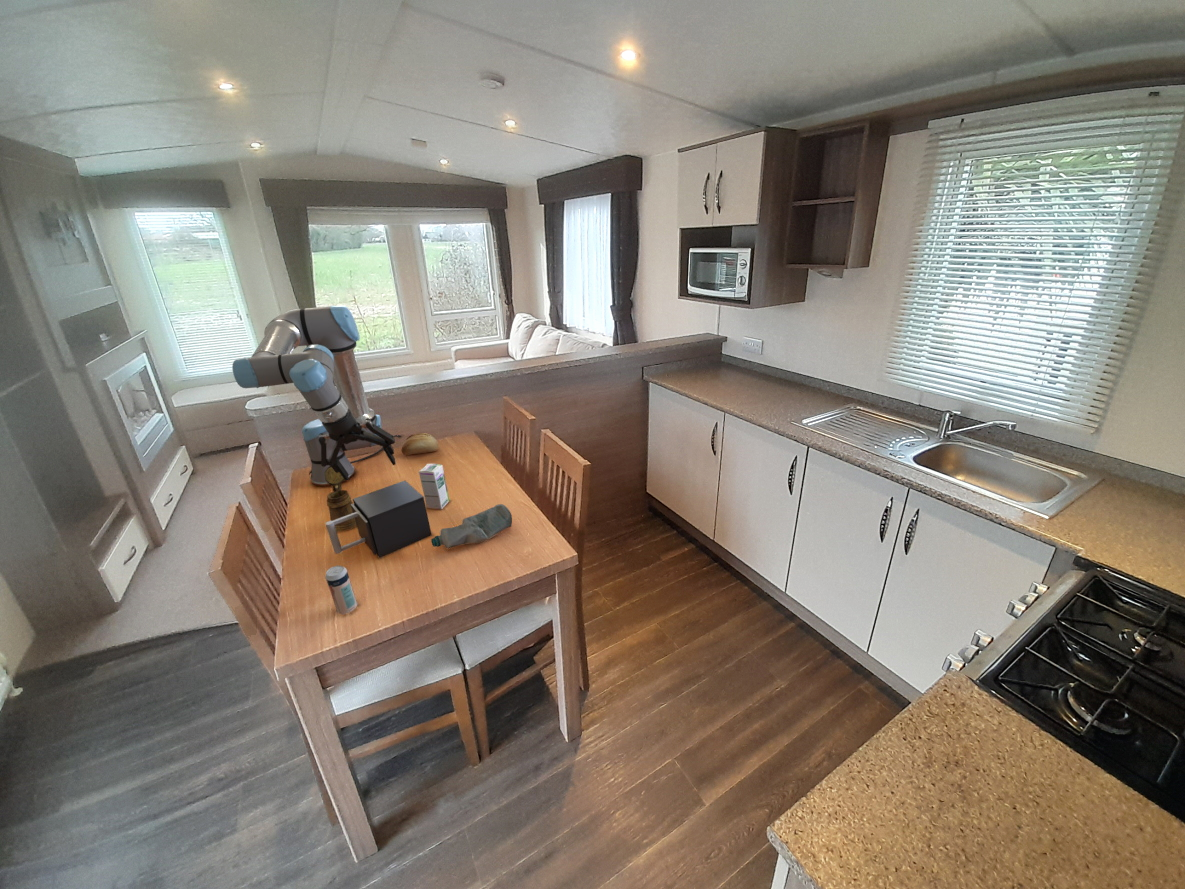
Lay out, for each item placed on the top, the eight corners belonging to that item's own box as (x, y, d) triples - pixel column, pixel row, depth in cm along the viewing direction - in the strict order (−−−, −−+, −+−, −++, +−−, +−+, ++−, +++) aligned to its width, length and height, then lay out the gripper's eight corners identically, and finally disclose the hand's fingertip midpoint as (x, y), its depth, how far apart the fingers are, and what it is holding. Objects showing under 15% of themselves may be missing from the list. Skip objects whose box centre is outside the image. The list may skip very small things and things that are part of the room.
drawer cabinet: (379, 558, 138) (368, 517, 132) (363, 537, 147) (352, 498, 141) (431, 535, 147) (423, 496, 141) (413, 517, 157) (405, 480, 151)
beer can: (341, 602, 122) (329, 565, 117) (360, 600, 122) (349, 563, 117) (333, 616, 118) (320, 578, 113) (353, 614, 118) (341, 576, 113)
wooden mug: (361, 506, 164) (348, 460, 156) (361, 527, 152) (347, 478, 145) (333, 513, 161) (318, 465, 153) (330, 534, 149) (314, 484, 142)
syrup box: (442, 509, 160) (434, 472, 154) (426, 508, 162) (418, 470, 155) (449, 500, 166) (443, 463, 159) (434, 499, 167) (427, 462, 160)
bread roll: (402, 451, 204) (398, 434, 200) (438, 444, 209) (435, 427, 205) (403, 460, 195) (399, 442, 192) (440, 453, 200) (437, 436, 197)
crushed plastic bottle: (502, 513, 157) (426, 539, 144) (500, 495, 154) (423, 520, 141) (520, 534, 148) (440, 564, 135) (519, 516, 144) (437, 545, 132)
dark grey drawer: (343, 569, 132) (332, 534, 127) (330, 548, 141) (319, 514, 136) (426, 533, 146) (418, 500, 141) (408, 516, 155) (401, 485, 150)
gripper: (284, 439, 120) (326, 493, 135) (383, 407, 125) (414, 463, 139) (287, 421, 125) (327, 475, 140) (382, 392, 130) (412, 447, 144)
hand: (370, 469), depth 140 cm, fingers open, 13 cm apart
